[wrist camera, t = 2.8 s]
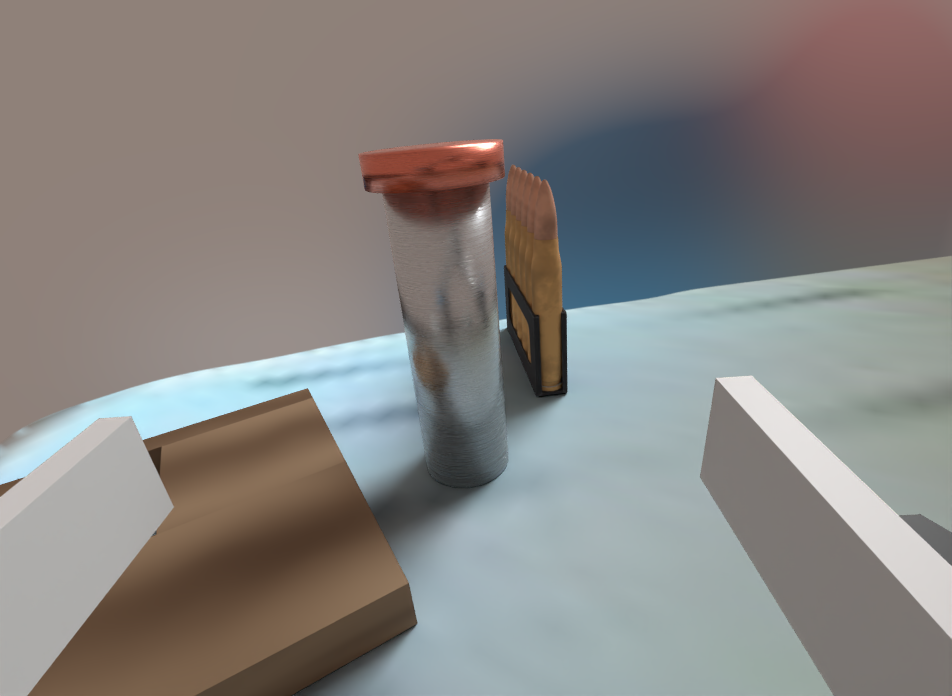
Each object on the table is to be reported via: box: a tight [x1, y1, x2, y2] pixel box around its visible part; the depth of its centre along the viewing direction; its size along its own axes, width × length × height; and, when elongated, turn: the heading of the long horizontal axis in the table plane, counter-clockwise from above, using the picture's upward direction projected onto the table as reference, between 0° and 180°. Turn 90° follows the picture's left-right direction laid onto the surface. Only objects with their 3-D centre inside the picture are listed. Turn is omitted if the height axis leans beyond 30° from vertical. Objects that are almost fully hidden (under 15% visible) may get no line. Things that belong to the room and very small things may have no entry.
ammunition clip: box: [504, 165, 567, 396], centre depth 30 cm, size 11×2×12 cm, turn 6°
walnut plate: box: [0, 388, 417, 696], centre depth 18 cm, size 15×15×2 cm
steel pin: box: [359, 139, 508, 488], centre depth 20 cm, size 5×5×14 cm
